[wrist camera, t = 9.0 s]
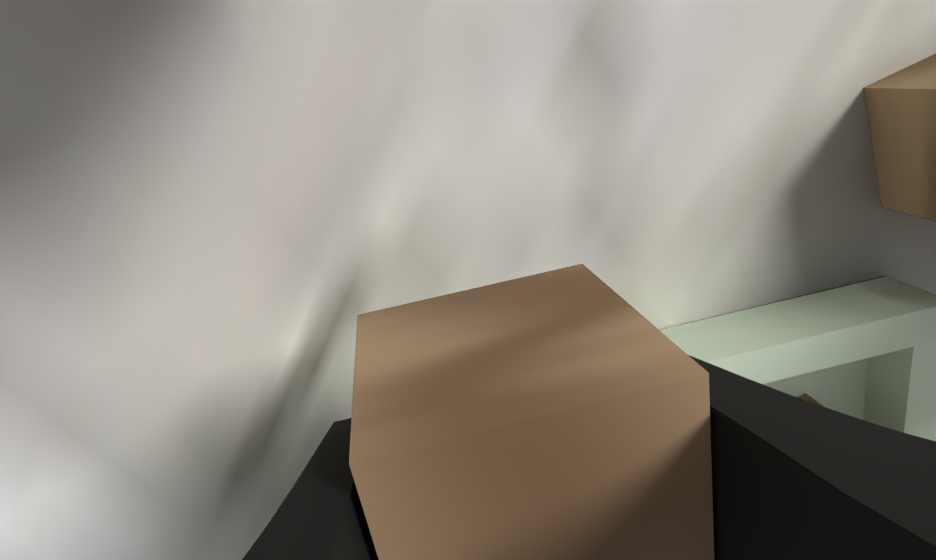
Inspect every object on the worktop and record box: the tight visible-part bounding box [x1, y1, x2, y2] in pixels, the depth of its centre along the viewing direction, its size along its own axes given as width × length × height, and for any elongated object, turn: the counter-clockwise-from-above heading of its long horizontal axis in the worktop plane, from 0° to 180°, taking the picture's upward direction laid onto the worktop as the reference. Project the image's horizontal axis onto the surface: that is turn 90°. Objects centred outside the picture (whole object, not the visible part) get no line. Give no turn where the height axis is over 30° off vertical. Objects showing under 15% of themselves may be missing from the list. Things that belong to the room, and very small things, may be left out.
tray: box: [660, 276, 936, 441], centre depth 19 cm, size 16×12×2 cm
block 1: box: [349, 264, 714, 560], centre depth 9 cm, size 4×4×4 cm
